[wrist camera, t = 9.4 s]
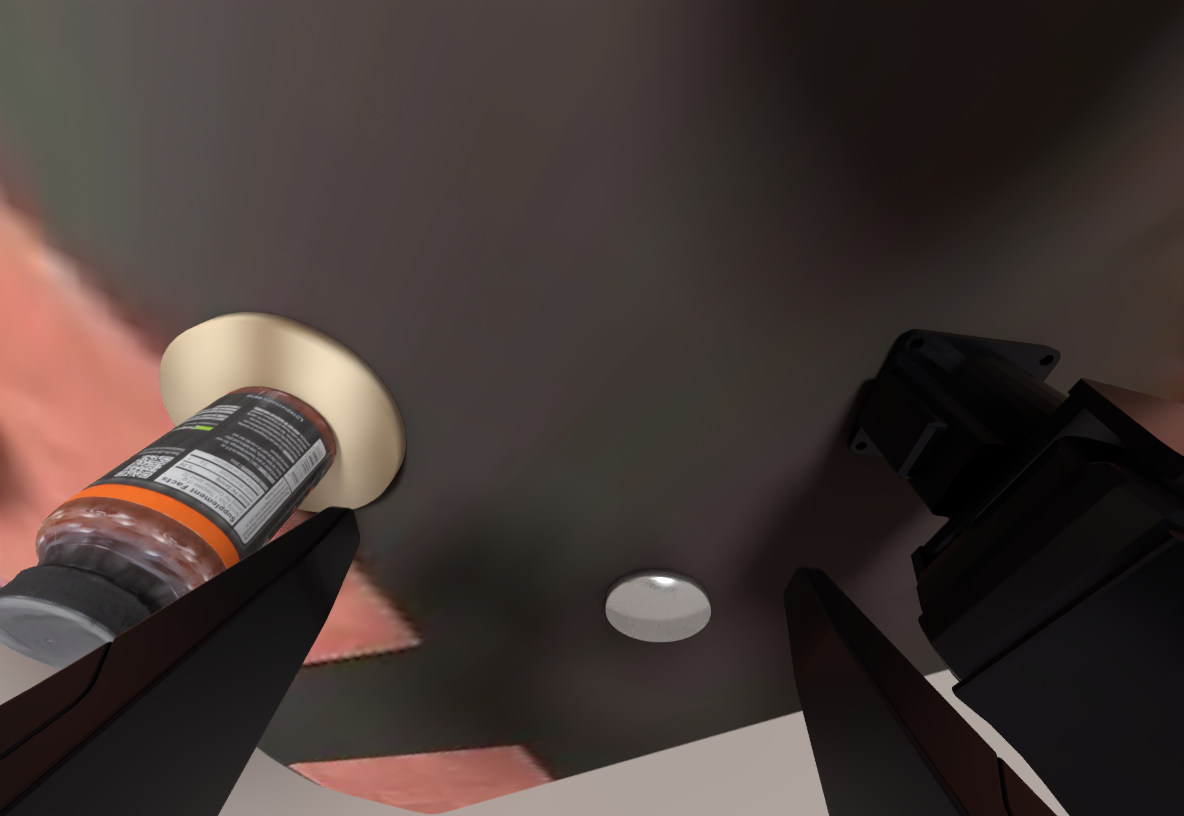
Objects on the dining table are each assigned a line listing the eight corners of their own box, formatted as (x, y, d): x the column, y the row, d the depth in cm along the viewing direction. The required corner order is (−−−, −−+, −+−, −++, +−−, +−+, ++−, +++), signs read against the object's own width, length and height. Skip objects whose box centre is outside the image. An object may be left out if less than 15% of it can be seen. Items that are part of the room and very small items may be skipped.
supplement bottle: (289, 489, 25) (89, 706, 16) (198, 409, 23) (-107, 612, 13) (366, 451, 24) (192, 670, 14) (277, 361, 21) (-10, 554, 12)
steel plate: (720, 576, 29) (722, 587, 28) (695, 636, 33) (697, 647, 32) (613, 562, 29) (612, 572, 28) (600, 624, 33) (599, 634, 32)
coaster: (390, 328, 21) (377, 339, 20) (417, 509, 28) (408, 525, 27) (139, 296, 21) (112, 305, 20) (225, 484, 28) (208, 499, 27)
